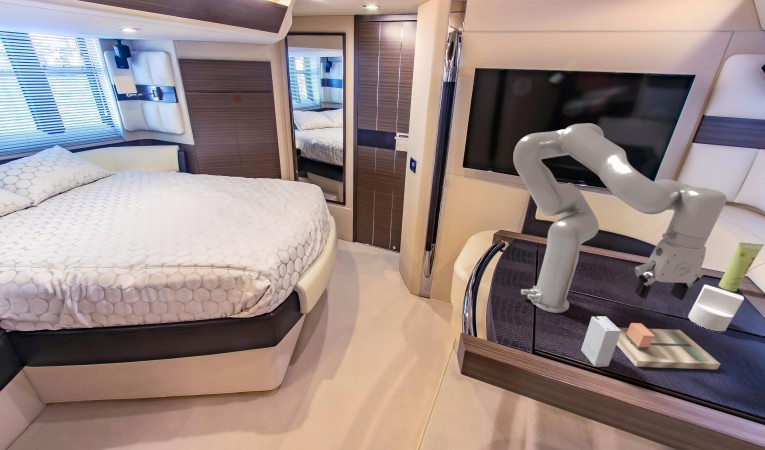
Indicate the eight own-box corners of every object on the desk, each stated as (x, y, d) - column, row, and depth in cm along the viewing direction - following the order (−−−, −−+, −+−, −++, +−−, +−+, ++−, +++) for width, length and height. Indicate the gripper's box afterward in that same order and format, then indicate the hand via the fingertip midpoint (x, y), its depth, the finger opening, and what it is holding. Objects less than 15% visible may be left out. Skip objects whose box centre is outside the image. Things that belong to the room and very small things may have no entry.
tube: (733, 293, 120) (759, 247, 112) (715, 286, 124) (739, 241, 116) (738, 289, 123) (764, 244, 115) (720, 283, 127) (744, 238, 119)
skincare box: (609, 366, 86) (624, 331, 81) (593, 367, 85) (607, 331, 81) (593, 349, 91) (607, 315, 87) (578, 349, 91) (591, 315, 86)
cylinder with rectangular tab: (686, 321, 104) (703, 291, 99) (689, 309, 110) (704, 280, 105) (725, 336, 98) (744, 304, 93) (725, 323, 104) (743, 292, 99)
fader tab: (637, 348, 89) (643, 335, 87) (625, 335, 93) (631, 323, 92) (648, 349, 89) (654, 335, 87) (635, 336, 93) (641, 323, 92)
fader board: (635, 366, 86) (638, 360, 85) (605, 332, 98) (607, 327, 97) (717, 369, 86) (720, 363, 85) (677, 335, 98) (679, 329, 97)
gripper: (661, 244, 75) (636, 304, 81) (735, 246, 75) (703, 306, 82) (638, 230, 81) (616, 287, 88) (705, 233, 82) (678, 289, 88)
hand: (658, 296), depth 85 cm, fingers open, 9 cm apart
